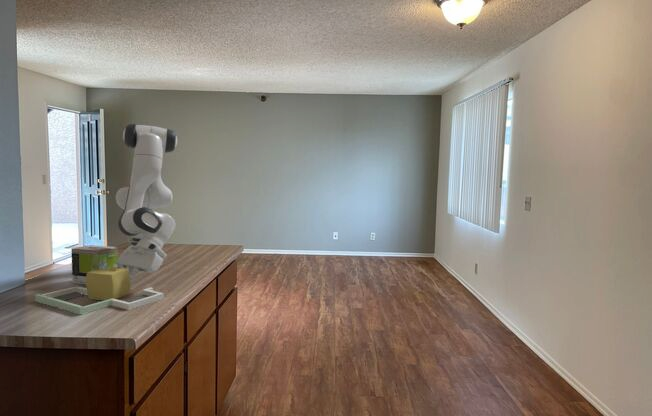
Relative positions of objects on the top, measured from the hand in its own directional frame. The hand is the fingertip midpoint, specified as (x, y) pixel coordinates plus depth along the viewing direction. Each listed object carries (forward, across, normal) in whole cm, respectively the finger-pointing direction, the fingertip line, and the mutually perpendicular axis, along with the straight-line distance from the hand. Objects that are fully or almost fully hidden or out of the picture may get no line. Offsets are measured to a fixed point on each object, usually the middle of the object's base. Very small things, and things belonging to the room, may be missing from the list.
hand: (126, 278), depth 154 cm
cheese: (+9, -1, -1) cm, 9 cm away
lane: (+10, 0, -2) cm, 10 cm away
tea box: (+2, -23, +6) cm, 24 cm away
